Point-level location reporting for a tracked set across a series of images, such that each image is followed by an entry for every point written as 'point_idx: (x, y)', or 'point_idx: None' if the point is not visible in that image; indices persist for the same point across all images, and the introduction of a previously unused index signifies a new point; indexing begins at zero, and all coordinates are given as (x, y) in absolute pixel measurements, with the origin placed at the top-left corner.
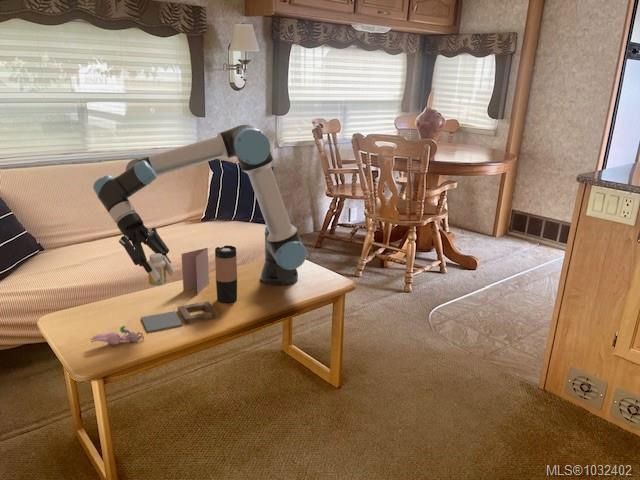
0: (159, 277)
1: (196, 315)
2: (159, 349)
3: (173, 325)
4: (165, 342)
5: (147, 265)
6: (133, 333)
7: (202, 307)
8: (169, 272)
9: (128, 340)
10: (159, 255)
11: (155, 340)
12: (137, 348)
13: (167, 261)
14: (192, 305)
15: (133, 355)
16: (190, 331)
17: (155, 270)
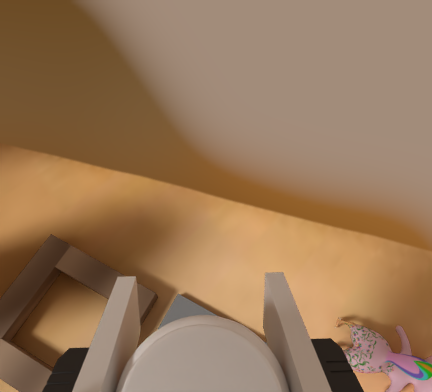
0: (277, 274)
1: (106, 285)
2: (331, 232)
3: (203, 313)
4: (293, 250)
5: (341, 382)
6: (371, 348)
7: (13, 344)
8: (136, 328)
9: (401, 330)
10: (180, 364)
11: (307, 287)
12: (378, 292)
13: (106, 344)
14: (31, 376)
15: (409, 266)
16: (191, 241)
17: (287, 309)
